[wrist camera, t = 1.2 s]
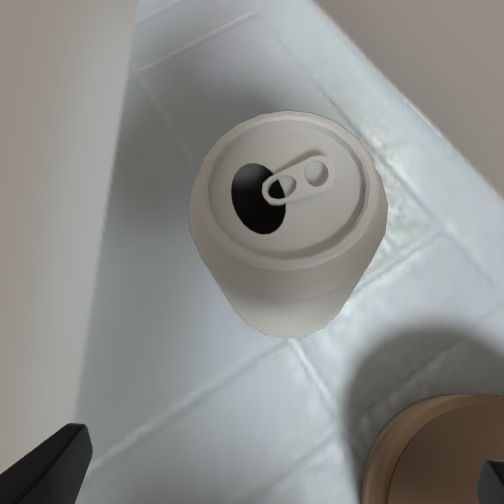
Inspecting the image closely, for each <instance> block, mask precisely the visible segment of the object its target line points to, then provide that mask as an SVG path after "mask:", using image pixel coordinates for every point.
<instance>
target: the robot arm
mask: <svg viewBox="0 0 504 504" xmlns="http://www.w3.org/2000/svg"><path fill="white" fill-rule="evenodd" d="M92 453H93V448H92V443H91V440H90V436H89V432H88V428H87V426H86V425H85V424H77V423H69V424H67V425H65V426H64V427H62V428H61V429H60V430H58V431H57V432H56V433H55V434H53V435H52V436H51V437H49V438H48V439H47V440H45V441H44V442H43V443H41V444H40V445H39V446H37V447H36V448H35V449H33V450H32V451H31V452H29V453H28V454H27V455H25V456H24V457H23V458H21V459H20V460H19V461H17V462H16V463H15V464H13V465H12V466H11V467H9V468H8V469H7V470H6V471H4V472H3V473H2V474H0V504H75V501H76V499H77V496H78V493H79V490H80V488H81V485H82V482H83V480H84V477H85V474H86V472H87V469H88V466H89V463H90V461H91V458H92ZM476 492H477V497H478V501H479V504H504V460H495V459H487V460H485V461H484V463H483V466H482V469H481V472H480V475H479V478H478V480H477V484H476Z"/></svg>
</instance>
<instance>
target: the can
mask: <svg viewBox="0 0 504 504" xmlns="http://www.w3.org/2000/svg"><path fill="white" fill-rule="evenodd" d="M188 205H189V225H190V232H191V235H192V237H193V240H194V242H195V244H196V247H197V249H198V251H199V254H200V256H201V258H202V260H203V261H204V263H205V264H206V266H207V268H208V269H209V271H210V272H211V274H212V276H213V277H214V279H215V280H216V282H217V283H218V285H219V287H220V288H221V290H222V291H223V293H224V295H225V296H226V298H227V299H228V301H229V303H230V304H231V306H232V307H233V309H234V310H235V312H236V313H237V314H238V315H239V316H240V317H241V318H242V319H243V320H244V322H245V323H246V324H247V325H248V326H250V327H252V328H254V329H256V330H257V331H259V332H261V333H263V334H264V335H268V336H273V337H278V338H283V339H289V338H297V337H306V336H308V335H310V334H312V333H314V332H316V331H318V330H320V329H323V328H324V327H325V326H326V325H327V324H328V323H329V322H331V321H332V320H333V319H334V318H335V317H336V316H337V315H338V314H339V312H340V310H341V309H342V307H343V306H344V304H345V302H346V301H347V299H348V298H349V296H350V294H351V293H352V291H353V290H354V288H355V286H356V285H357V283H358V282H359V280H360V278H361V277H362V275H363V273H364V272H365V270H366V269H367V267H368V265H369V264H370V262H371V261H372V259H373V257H374V255H375V253H376V251H377V249H378V247H379V245H380V243H381V241H382V239H383V237H384V235H385V230H386V220H387V210H388V202H387V198H386V194H385V191H384V187H383V183H382V179H381V176H380V175H379V173H378V172H377V170H376V169H375V165H374V161H373V159H372V157H371V156H370V154H369V153H368V152H367V150H366V149H365V147H364V146H363V144H362V143H361V141H360V140H359V138H357V137H356V136H355V135H353V134H352V133H351V132H349V131H348V130H347V129H346V128H344V127H343V126H342V125H340V124H339V123H337V122H335V121H332V120H330V119H327V118H325V117H322V116H319V115H317V114H314V113H307V112H298V111H289V110H286V111H279V112H273V113H266V114H260V115H258V116H256V117H253V118H251V119H249V120H246V121H244V122H241V123H239V124H237V125H236V126H234V127H233V128H232V129H231V130H229V131H228V132H227V133H226V134H224V135H223V136H222V137H220V138H219V139H218V140H217V141H216V142H215V144H214V145H213V147H212V148H211V150H210V151H209V152H208V154H207V155H206V157H205V158H204V160H203V162H202V165H201V169H200V172H199V174H198V175H197V177H196V179H195V183H194V186H193V189H192V193H191V196H190V200H189V203H188Z"/></svg>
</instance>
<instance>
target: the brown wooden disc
mask: <svg viewBox="0 0 504 504" xmlns="http://www.w3.org/2000/svg"><path fill="white" fill-rule="evenodd" d="M487 459H495V460H504V396H499V395H443V396H435V397H431V398H427V399H424V400H421V401H419V402H416V403H414V404H412V405H410V406H408V407H407V408H405V409H403V410H402V411H400V412H399V413H398V414H397V415H395V416H394V417H393V418H392V419H391V420H390V421H389V422H388V423H387V424H386V425H385V427H384V428H383V429H382V430H381V431H380V433H379V435H378V436H377V438H376V439H375V441H374V443H373V445H372V447H371V449H370V452H369V454H368V457H367V460H366V463H365V466H364V471H363V476H362V482H361V504H479V501H478V497H477V492H476V484H477V480H478V478H479V475H480V472H481V469H482V466H483V463H484V461H485V460H487Z"/></svg>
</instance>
